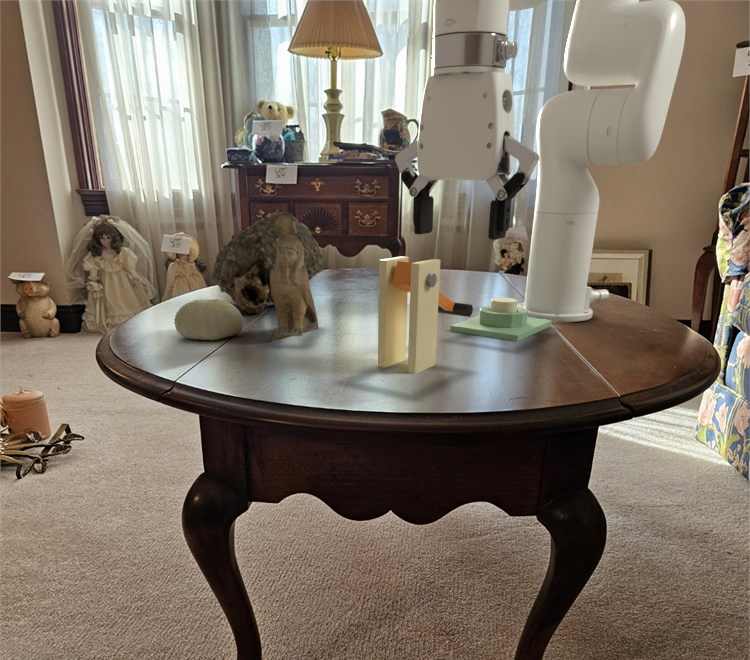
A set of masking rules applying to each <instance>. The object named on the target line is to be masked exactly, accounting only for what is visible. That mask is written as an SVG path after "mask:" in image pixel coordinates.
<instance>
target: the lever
mask: <svg viewBox="0 0 750 660" xmlns="http://www.w3.org/2000/svg"><path fill="white" fill-rule="evenodd" d="M411 263H413V262H411V261H409V262H402V261H397V265H396V269H395V273H394V277H393V281H392V284H394V285H395V286H397V287H398V288H400V289H401V290H402V291H404V292H408V293H410V285H411ZM473 310H474V307H473V304H471V303H462V302H454V301H452V300H451V299H450V298H448V297H447V296H445V295H444V294H443V293H442V292H440V291H439V300H438V314H445V315H452V316H460V317H467V318H469V317H470V318H471V316H472V315H473Z"/></svg>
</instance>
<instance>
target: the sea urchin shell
mask: <svg viewBox="0 0 750 660" xmlns="http://www.w3.org/2000/svg"><path fill="white" fill-rule="evenodd" d="M173 320H174V322H173V324H174V328H175V330H176V331H177V333H178V334H179V335H181V336H182V337H184V338H185V339H191V340H200V341H217V340H220V339H225V338H229V337H233V336H236V335H237V334H239V333H240V332H241V331H242V329H243V327H244V318H243V315H242V313H241V311H240V310H239V309H238V308H237V307H236V306H235V305H234V304H232V303H231V302H229V301H227V300H224V299H219V298H213V299H212V298H211V299H208V298H207V299H195V300H191V301H188V302H186V303H185V304H184V305H182V306H181V307H180V308H179V309H178V310H177V312H176V314H175V315H174V319H173Z"/></svg>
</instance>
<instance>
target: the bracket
mask: <svg viewBox="0 0 750 660" xmlns="http://www.w3.org/2000/svg"><path fill="white" fill-rule="evenodd" d="M409 259H410V257H409V256H405V255H403V256H402V255H401V256H395V257H389V258H388V257H387V258H383V259H382V258H381V259H379V260H378V308H377V309H378V316H377V367H379V368H388V367H391V366H393V365H396V364H399V363H401V362H403V361H406V357H407V373H410V374H418V373H420V372H422V371H425V370H427V369H429V368H432V367H433V366H436V354H437V337H438V316H439V313H438V300H439V292H440V277H441V259H436V258H431V259H426V260H420V261H415V262H412V263H411V285H410V292H404V291H402V290H401V289H400V288H398V287H397V286H395V285H394V284H392V281H393V277H394V273H395V269H396V265H397V261H402V262H410V260H409ZM408 295H409V317H408ZM408 319H409V320H408ZM407 320H408V321H407ZM407 322H409V323H408V351H407ZM407 354H408V355H407Z"/></svg>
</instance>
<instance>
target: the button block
mask: <svg viewBox="0 0 750 660" xmlns="http://www.w3.org/2000/svg"><path fill="white" fill-rule="evenodd" d="M490 309H491V305H485V306H482V307H480V308H479V311H478V312H479V313H478V315H476V316H474V317H470V318H467V319H465V320H462V321H460V322H456V323H454V324H451V325H450V328H449V329H450V330H449V331H450V332H452V333H453V332H454V333H460V334H466V335H474V336H478V337H479V336H480V337H484V338H485V337H486V338H493V339H499V340H505V341H512V342H519V341H522V340H523V339H526V338H528V337H530V336H532V335H535V334H537V333H539V332H541V331H544V330H545V329H548V328H550V327H551V326H552V324H553V320H549V319H541V318H534V317H527V315H528V311H527V310H526V309H524V308H520V307H517V312H512V313H500V312H493V311H490Z"/></svg>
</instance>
